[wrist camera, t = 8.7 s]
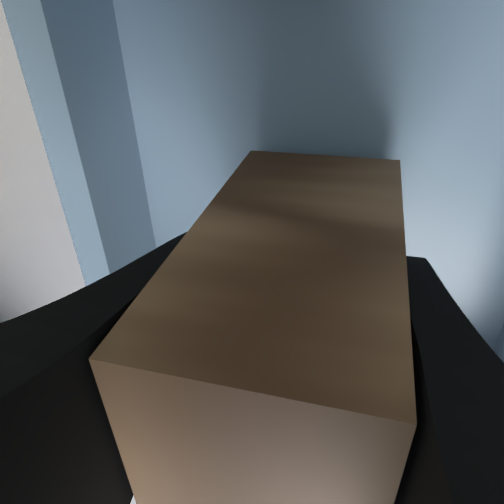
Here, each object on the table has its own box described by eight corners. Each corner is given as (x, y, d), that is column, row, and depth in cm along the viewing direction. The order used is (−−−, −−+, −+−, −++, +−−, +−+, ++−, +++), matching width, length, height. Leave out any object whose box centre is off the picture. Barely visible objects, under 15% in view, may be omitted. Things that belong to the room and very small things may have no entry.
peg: (254, 267, 14) (140, 516, 8) (250, 150, 12) (88, 359, 5) (379, 284, 13) (370, 583, 7) (399, 159, 11) (417, 424, 5)
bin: (155, 322, 19) (115, 384, 16) (78, -74, 11) (-26, -90, 8) (505, 382, 16) (530, 472, 13) (722, -118, 8) (902, -167, 5)
